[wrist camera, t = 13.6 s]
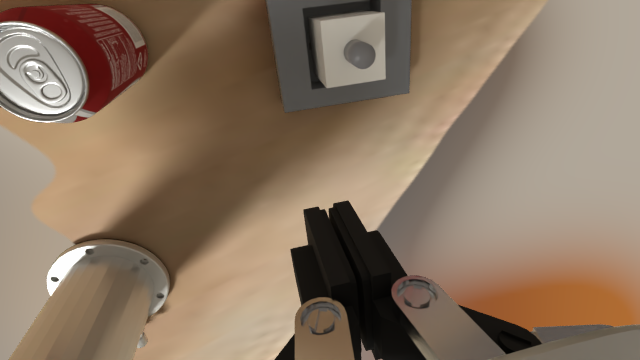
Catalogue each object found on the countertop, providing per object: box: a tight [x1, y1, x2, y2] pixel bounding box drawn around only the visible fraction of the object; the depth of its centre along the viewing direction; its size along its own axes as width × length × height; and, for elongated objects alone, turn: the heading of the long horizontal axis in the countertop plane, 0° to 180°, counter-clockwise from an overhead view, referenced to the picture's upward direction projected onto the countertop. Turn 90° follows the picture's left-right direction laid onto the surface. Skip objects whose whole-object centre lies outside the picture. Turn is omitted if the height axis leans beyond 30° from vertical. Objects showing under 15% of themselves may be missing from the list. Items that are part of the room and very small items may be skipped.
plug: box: [308, 10, 386, 88], centre depth 28 cm, size 5×5×8 cm
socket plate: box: [265, 0, 411, 113], centre depth 29 cm, size 16×12×4 cm
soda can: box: [0, 4, 148, 123], centre depth 24 cm, size 7×7×12 cm
